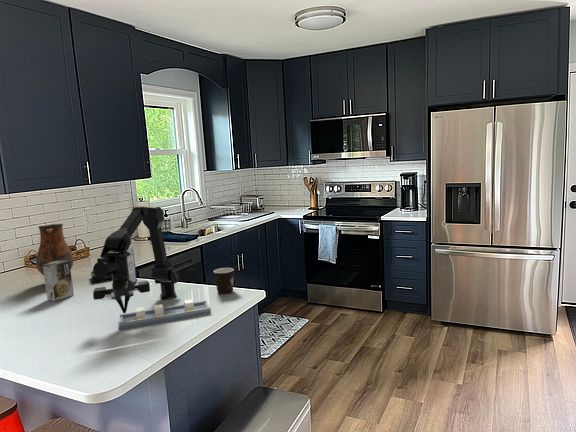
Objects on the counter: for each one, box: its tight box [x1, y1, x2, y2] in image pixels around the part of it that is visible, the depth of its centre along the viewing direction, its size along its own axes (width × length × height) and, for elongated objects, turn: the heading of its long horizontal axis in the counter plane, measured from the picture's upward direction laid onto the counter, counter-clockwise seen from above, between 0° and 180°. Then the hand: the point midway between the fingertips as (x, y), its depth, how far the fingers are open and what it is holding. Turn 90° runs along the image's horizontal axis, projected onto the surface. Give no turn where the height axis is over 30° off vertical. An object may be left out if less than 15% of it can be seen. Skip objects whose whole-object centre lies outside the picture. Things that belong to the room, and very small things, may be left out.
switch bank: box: [118, 300, 212, 331], centre depth 159 cm, size 10×32×2 cm, turn 110°
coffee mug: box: [213, 267, 235, 295], centre depth 183 cm, size 12×9×10 cm
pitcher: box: [35, 223, 74, 276], centre depth 214 cm, size 17×21×30 cm
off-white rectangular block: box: [153, 303, 164, 316], centre depth 158 cm, size 4×3×3 cm
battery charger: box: [90, 270, 112, 285], centre depth 219 cm, size 13×10×4 cm
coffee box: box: [43, 260, 75, 302], centre depth 191 cm, size 9×6×16 cm
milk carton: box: [112, 245, 138, 285], centre depth 206 cm, size 7×7×20 cm
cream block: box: [183, 298, 194, 311], centre depth 162 cm, size 4×3×3 cm
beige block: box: [135, 306, 146, 319], centre depth 156 cm, size 4×3×3 cm
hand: (124, 312), depth 154 cm, fingers closed
